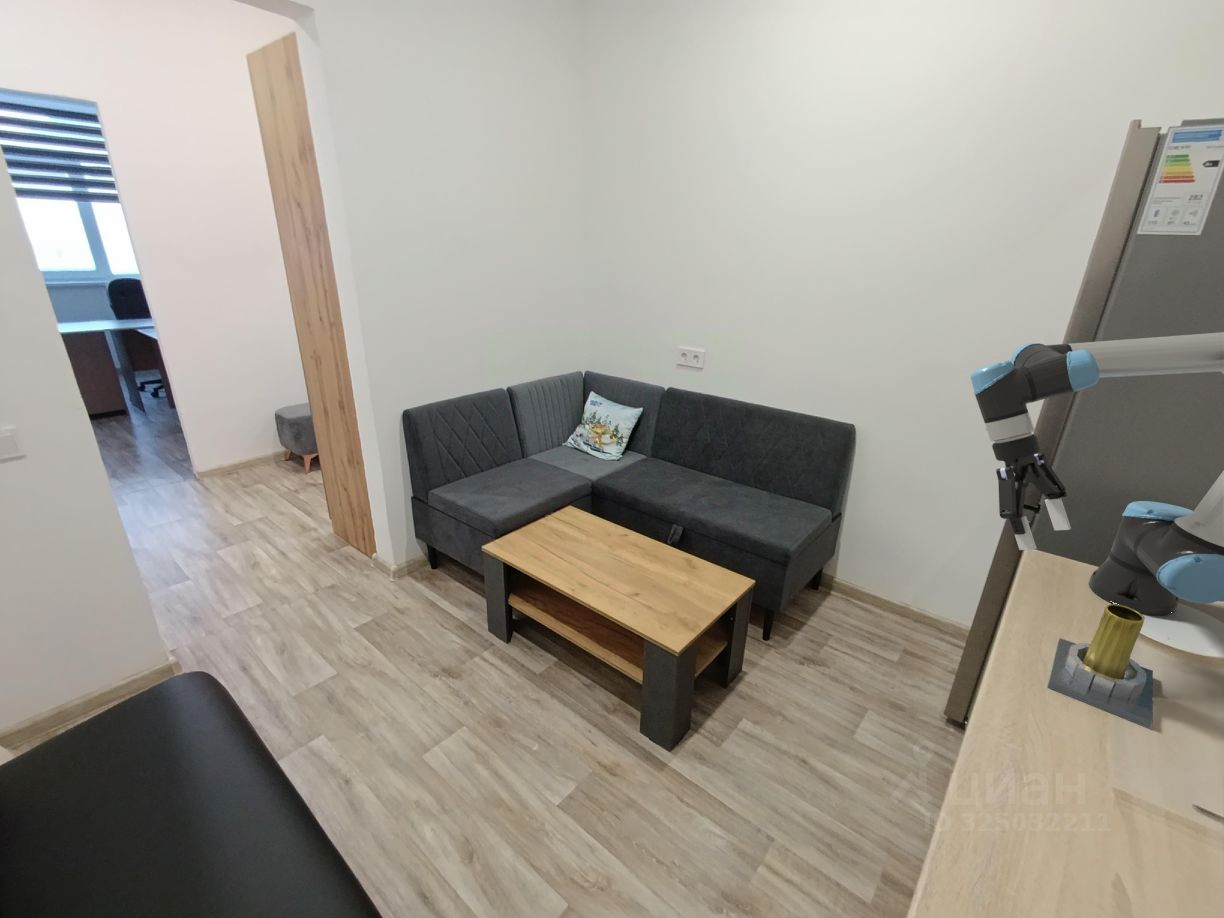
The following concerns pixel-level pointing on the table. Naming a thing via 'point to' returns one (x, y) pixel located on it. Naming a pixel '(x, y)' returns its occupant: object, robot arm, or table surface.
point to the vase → (1114, 641)
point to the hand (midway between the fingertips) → (1046, 539)
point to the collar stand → (1103, 684)
